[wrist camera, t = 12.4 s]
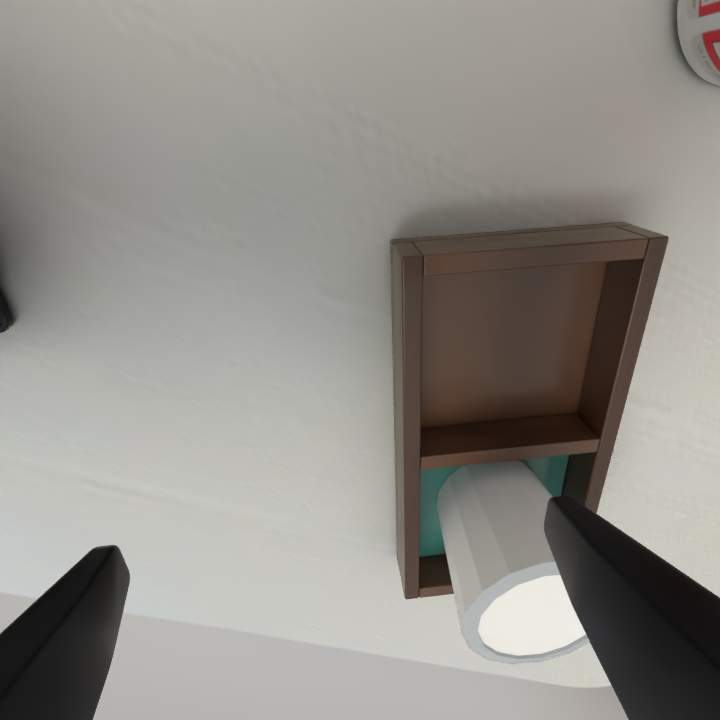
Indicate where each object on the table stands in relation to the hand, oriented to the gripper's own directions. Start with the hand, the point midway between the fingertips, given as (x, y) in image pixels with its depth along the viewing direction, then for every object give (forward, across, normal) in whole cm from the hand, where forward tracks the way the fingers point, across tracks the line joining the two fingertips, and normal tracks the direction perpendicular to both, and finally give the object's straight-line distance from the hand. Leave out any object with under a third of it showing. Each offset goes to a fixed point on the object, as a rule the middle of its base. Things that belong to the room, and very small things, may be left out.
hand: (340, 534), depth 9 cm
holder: (+12, -8, +6) cm, 16 cm away
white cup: (+11, -8, +11) cm, 18 cm away
